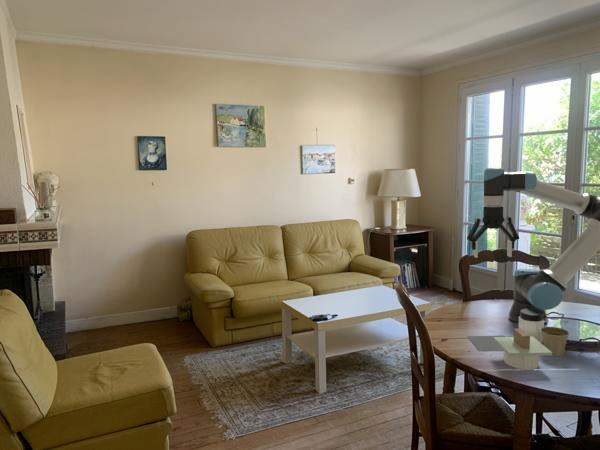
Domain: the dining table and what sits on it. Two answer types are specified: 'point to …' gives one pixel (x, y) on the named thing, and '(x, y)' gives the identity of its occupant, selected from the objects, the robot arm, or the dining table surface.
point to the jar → (532, 323)
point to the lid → (522, 345)
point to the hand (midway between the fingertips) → (492, 256)
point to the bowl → (522, 361)
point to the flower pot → (554, 339)
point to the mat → (485, 343)
